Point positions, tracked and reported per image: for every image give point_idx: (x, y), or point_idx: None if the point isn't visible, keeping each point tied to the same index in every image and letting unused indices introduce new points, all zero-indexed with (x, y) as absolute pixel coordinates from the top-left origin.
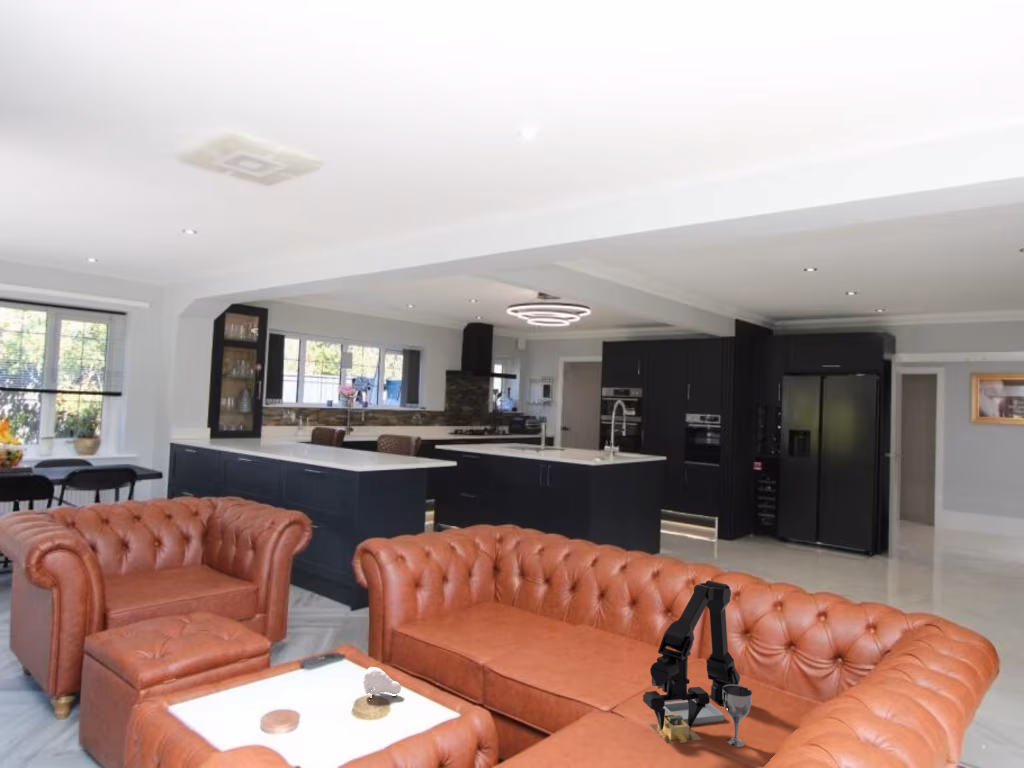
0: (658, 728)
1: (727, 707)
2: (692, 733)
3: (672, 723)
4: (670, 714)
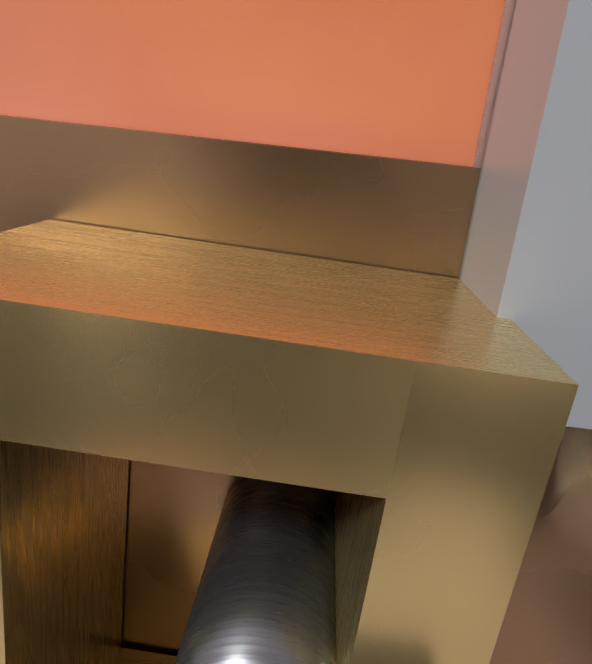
0: None
1: None
2: (537, 646)
3: (197, 605)
4: (298, 438)
